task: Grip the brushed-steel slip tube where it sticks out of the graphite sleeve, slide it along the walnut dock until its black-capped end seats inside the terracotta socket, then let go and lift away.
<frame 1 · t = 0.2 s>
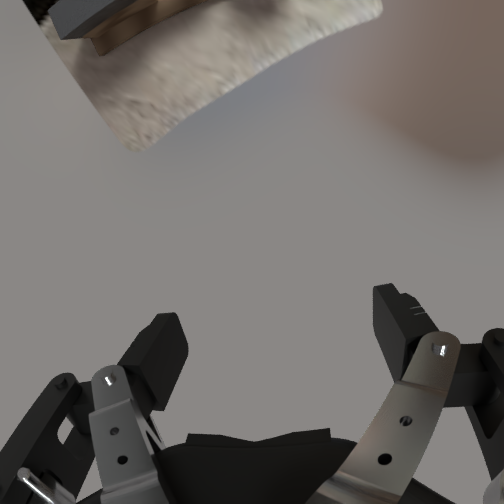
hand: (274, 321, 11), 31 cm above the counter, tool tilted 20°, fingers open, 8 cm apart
sleeve: (95, 0, 18), on the dock, point 8 cm above the counter
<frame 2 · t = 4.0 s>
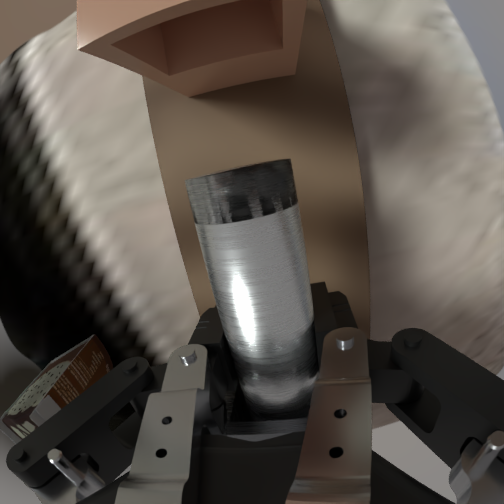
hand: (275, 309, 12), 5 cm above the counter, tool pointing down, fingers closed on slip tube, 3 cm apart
sleeve: (293, 448, 12), on the dock, point 8 cm above the counter
slip tube: (283, 393, 11), point 7 cm above the counter, slide at 0.0 cm, touching gripper
socket: (211, 4, 8), point 6 cm above the counter
dock: (272, 231, 16), on the counter
food container: (92, 373, 23), on the counter
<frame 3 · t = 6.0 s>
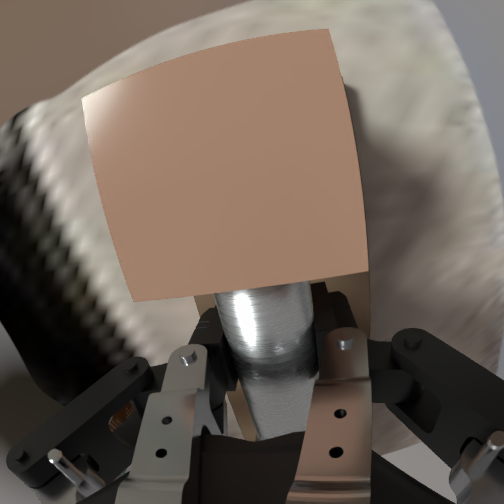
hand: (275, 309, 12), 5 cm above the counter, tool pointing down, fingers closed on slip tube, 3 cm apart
slip tube: (283, 393, 11), point 8 cm above the counter, slide at 6.4 cm, touching gripper
socket: (244, 161, 10), point 6 cm above the counter
dock: (288, 327, 18), on the counter
food container: (121, 417, 25), on the counter
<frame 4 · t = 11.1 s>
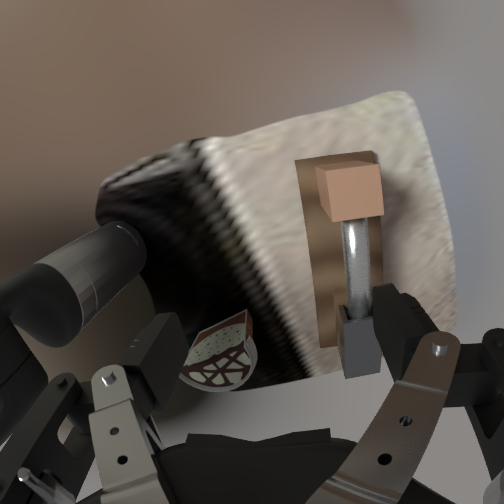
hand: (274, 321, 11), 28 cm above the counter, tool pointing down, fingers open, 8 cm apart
sleeve: (360, 340, 35), on the dock, point 8 cm above the counter
slip tube: (357, 265, 32), point 8 cm above the counter, slide at 6.4 cm
socket: (346, 187, 31), point 6 cm above the counter
dock: (346, 257, 39), on the counter
food container: (233, 334, 46), on the counter
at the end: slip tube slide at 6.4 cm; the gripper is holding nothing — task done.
